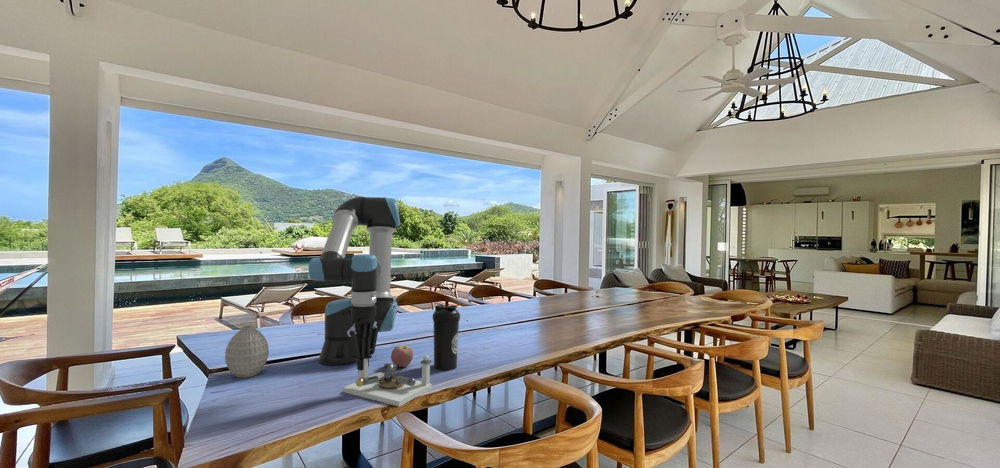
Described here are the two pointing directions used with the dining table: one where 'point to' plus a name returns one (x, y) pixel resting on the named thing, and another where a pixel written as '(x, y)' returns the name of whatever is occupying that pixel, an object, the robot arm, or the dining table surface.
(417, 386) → the stand base
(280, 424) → the dining table surface
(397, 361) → the apple
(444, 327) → the water bottle
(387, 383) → the capstan
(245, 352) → the vase
